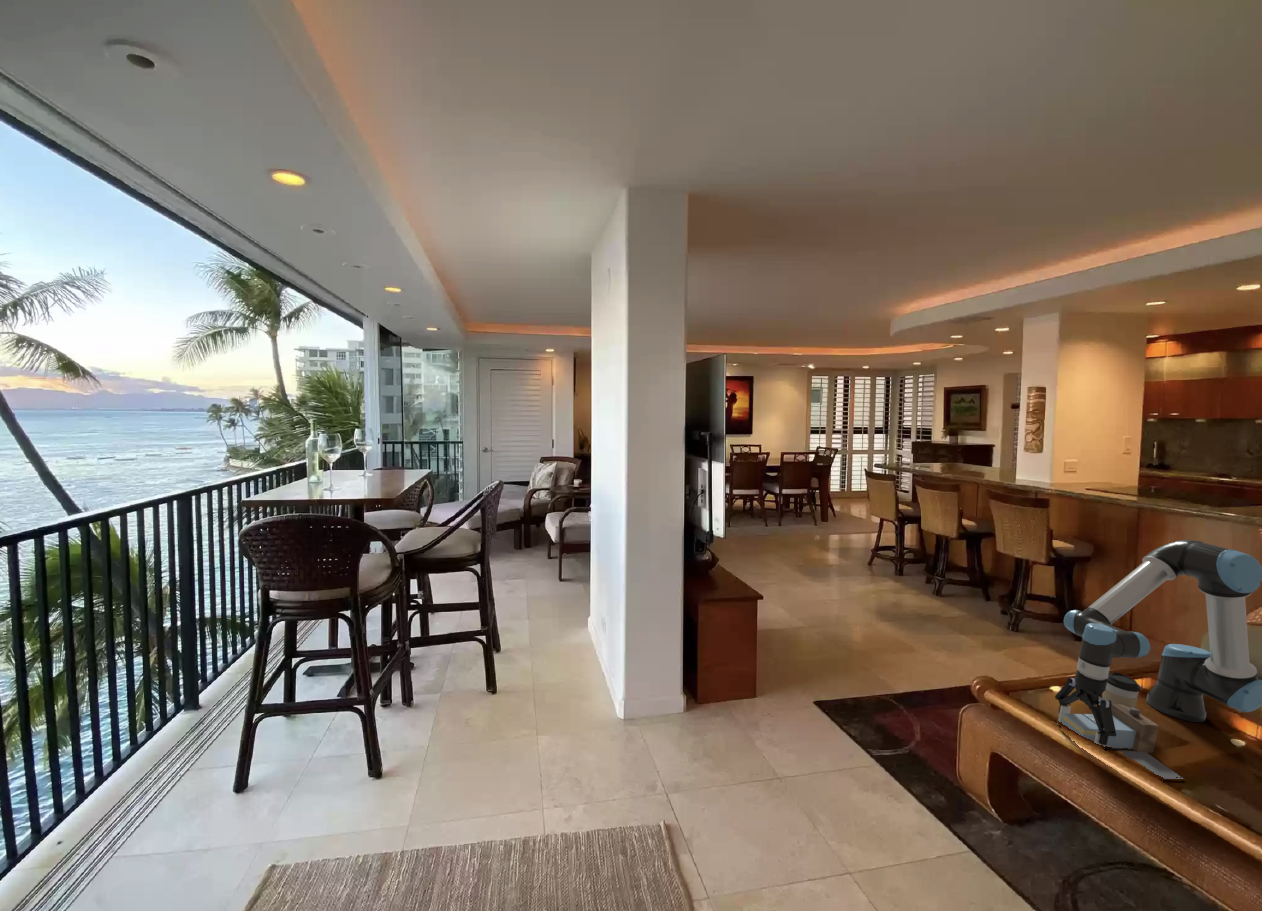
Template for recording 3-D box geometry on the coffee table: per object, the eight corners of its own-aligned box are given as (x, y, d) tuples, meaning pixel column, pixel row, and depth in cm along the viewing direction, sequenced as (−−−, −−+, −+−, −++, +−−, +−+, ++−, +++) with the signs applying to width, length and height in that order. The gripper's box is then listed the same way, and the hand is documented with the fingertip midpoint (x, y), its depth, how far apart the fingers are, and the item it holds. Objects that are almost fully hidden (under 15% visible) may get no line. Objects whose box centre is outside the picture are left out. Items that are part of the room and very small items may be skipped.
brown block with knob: (1120, 730, 183) (1127, 700, 182) (1152, 753, 172) (1159, 720, 171) (1105, 729, 183) (1112, 699, 181) (1137, 752, 172) (1143, 719, 170)
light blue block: (1078, 731, 181) (1081, 714, 180) (1100, 747, 173) (1103, 729, 172) (1060, 730, 181) (1063, 713, 180) (1080, 747, 173) (1084, 728, 172)
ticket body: (1122, 733, 181) (1125, 715, 181) (1145, 749, 173) (1149, 731, 173) (1079, 731, 181) (1083, 713, 180) (1101, 747, 173) (1104, 729, 172)
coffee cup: (1139, 729, 184) (1148, 686, 182) (1108, 724, 186) (1116, 681, 184) (1121, 714, 193) (1130, 673, 191) (1091, 709, 195) (1099, 668, 193)
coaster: (1145, 753, 171) (1145, 751, 171) (1184, 781, 160) (1184, 779, 159) (1106, 751, 171) (1107, 749, 171) (1143, 779, 159) (1144, 777, 159)
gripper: (1049, 654, 186) (1038, 714, 189) (1115, 696, 161) (1101, 764, 164) (1071, 655, 186) (1059, 715, 189) (1141, 697, 162) (1126, 765, 165)
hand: (1079, 738), depth 177 cm, fingers open, 13 cm apart
